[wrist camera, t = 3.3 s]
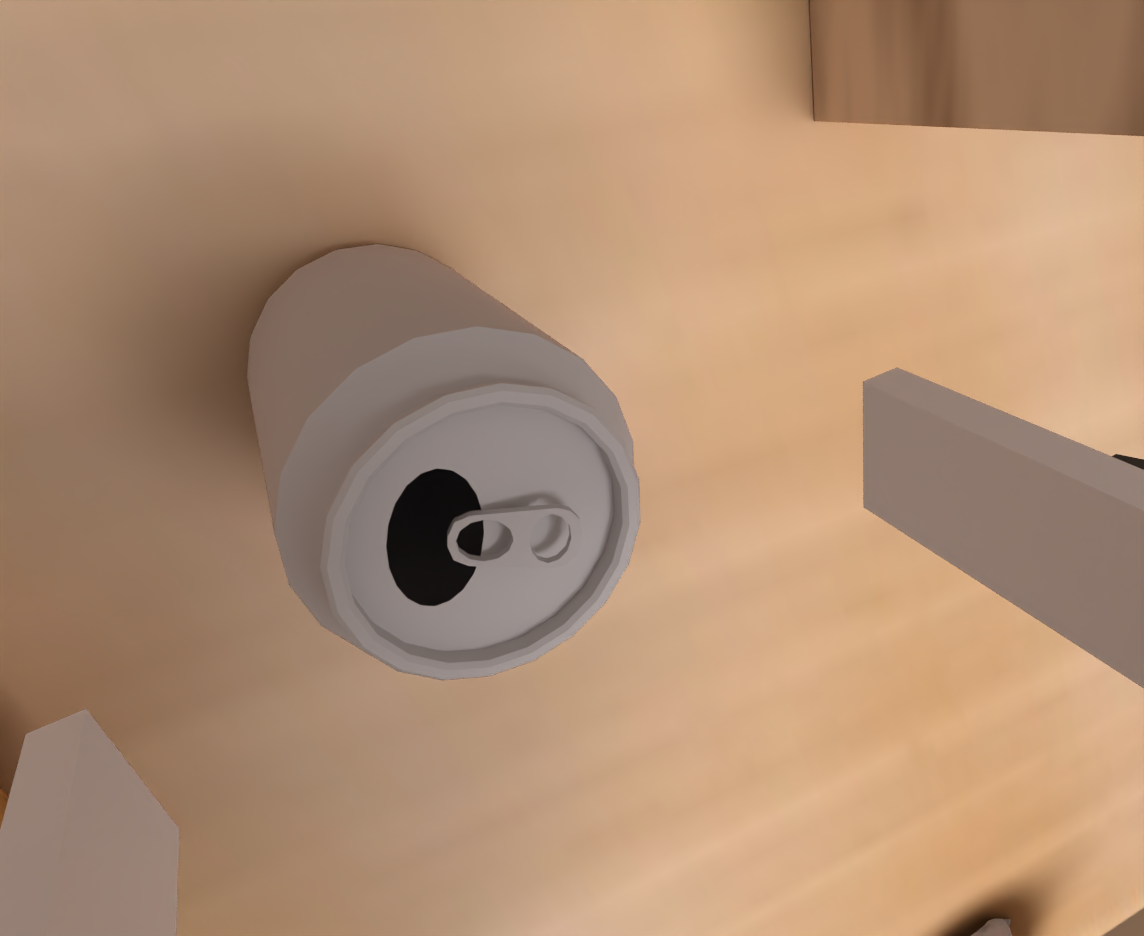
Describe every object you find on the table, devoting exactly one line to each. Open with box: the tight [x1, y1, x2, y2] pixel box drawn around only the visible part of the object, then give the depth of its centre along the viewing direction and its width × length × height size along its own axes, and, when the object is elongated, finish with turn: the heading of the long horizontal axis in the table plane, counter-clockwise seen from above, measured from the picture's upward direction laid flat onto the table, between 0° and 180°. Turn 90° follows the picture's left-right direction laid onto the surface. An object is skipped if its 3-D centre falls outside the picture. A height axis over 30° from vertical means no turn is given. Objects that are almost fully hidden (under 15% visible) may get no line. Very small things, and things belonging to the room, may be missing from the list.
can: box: [247, 244, 640, 680], centre depth 19 cm, size 8×8×12 cm
